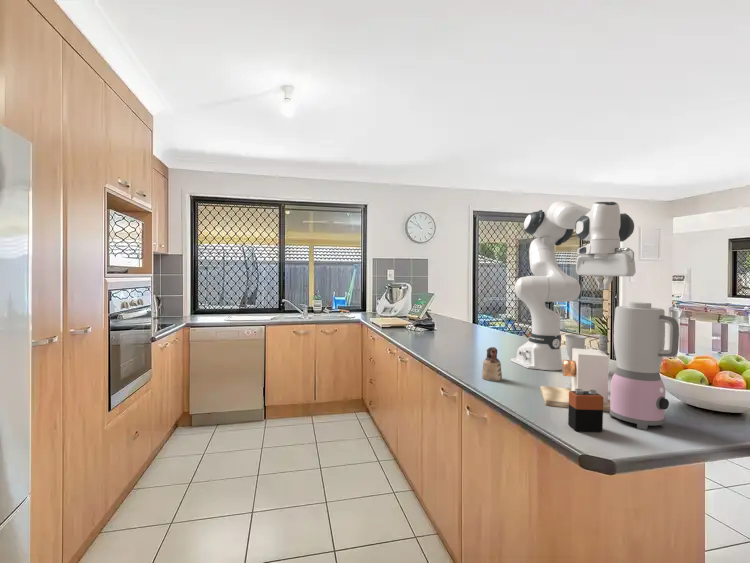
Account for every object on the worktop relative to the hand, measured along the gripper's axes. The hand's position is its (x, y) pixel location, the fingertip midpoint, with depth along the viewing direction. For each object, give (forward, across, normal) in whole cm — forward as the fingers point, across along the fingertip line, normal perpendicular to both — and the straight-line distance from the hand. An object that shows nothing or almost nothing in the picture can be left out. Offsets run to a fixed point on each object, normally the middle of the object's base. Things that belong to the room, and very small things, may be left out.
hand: (603, 289), depth 132 cm
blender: (+34, -27, +17) cm, 47 cm away
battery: (+34, -25, +35) cm, 55 cm away
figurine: (+35, +22, +29) cm, 50 cm away
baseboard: (+34, -7, +19) cm, 40 cm away
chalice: (+35, +4, +7) cm, 36 cm away
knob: (+27, -8, +18) cm, 33 cm away
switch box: (+33, -9, +16) cm, 38 cm away
